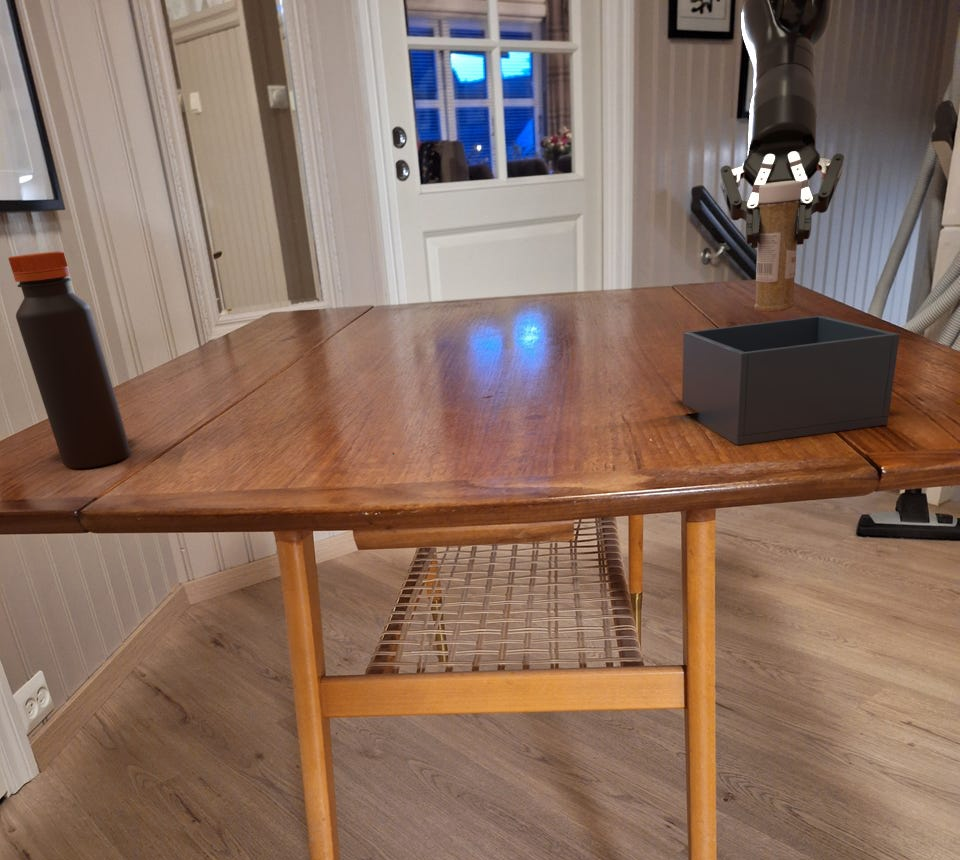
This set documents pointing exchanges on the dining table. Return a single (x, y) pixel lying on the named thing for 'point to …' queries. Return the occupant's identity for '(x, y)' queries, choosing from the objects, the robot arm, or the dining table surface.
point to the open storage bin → (788, 378)
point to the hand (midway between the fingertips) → (777, 240)
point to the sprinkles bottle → (777, 245)
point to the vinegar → (68, 363)
